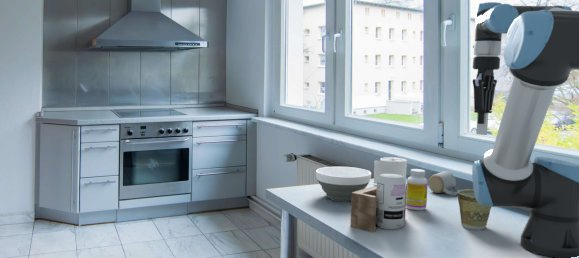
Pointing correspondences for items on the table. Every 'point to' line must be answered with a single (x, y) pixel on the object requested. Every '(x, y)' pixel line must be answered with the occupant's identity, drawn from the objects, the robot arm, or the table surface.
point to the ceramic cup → (472, 211)
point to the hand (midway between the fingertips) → (481, 134)
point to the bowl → (342, 181)
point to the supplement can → (390, 200)
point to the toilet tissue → (390, 166)
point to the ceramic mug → (443, 183)
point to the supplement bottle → (416, 190)
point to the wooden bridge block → (365, 209)
